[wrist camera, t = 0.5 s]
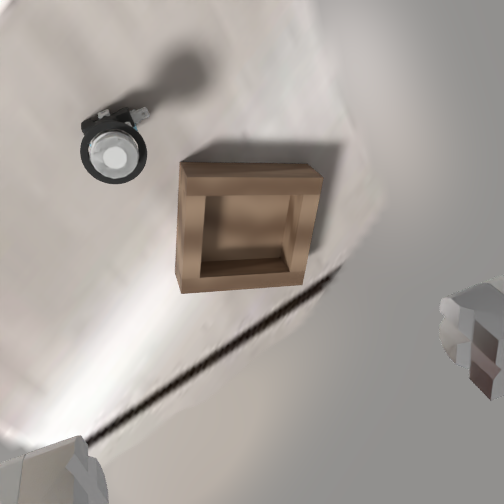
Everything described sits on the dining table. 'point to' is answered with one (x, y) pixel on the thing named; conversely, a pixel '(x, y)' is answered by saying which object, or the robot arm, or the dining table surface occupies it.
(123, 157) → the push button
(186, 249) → the wooden tray
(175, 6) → the dining table surface
